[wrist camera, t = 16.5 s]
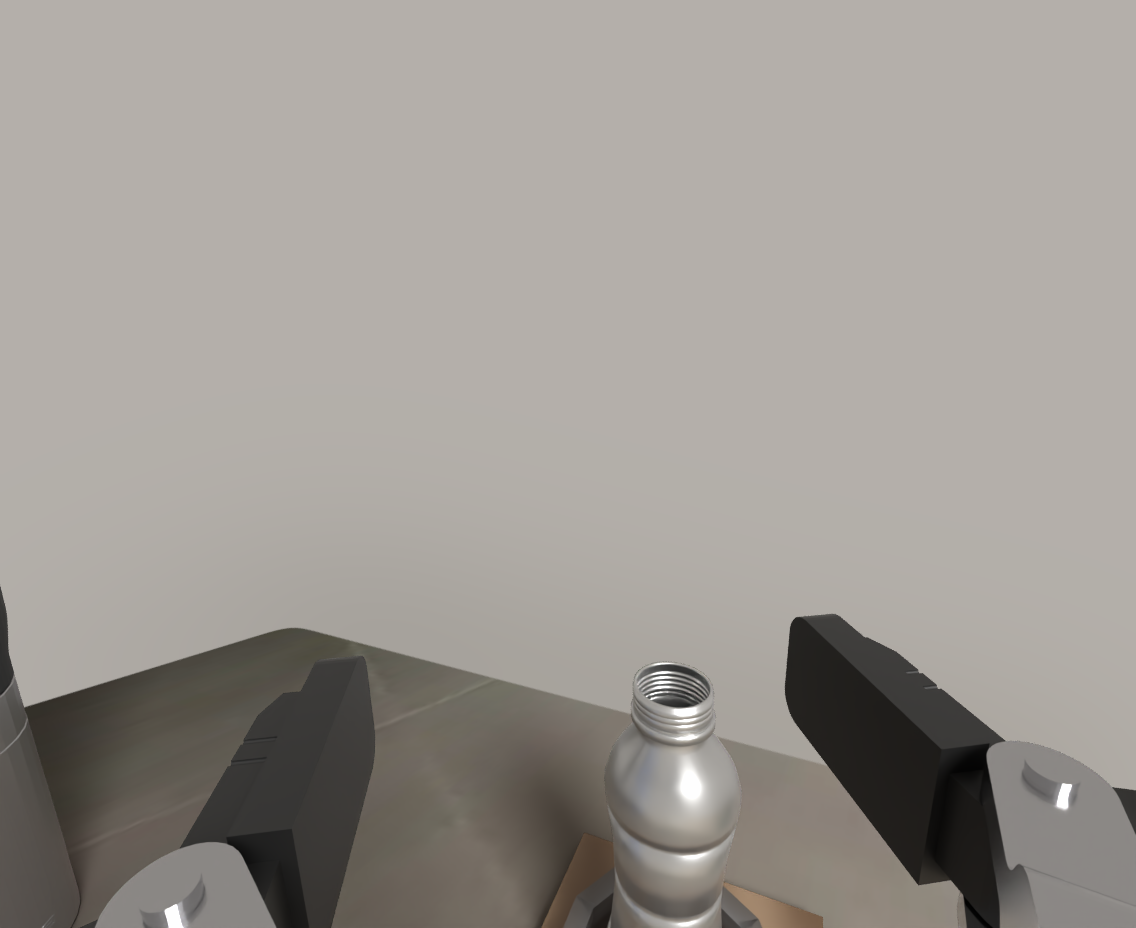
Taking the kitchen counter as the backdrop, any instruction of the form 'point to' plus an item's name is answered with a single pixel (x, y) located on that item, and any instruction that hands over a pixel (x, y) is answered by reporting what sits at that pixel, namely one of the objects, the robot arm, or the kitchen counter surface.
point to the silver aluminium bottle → (670, 804)
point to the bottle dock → (604, 862)
